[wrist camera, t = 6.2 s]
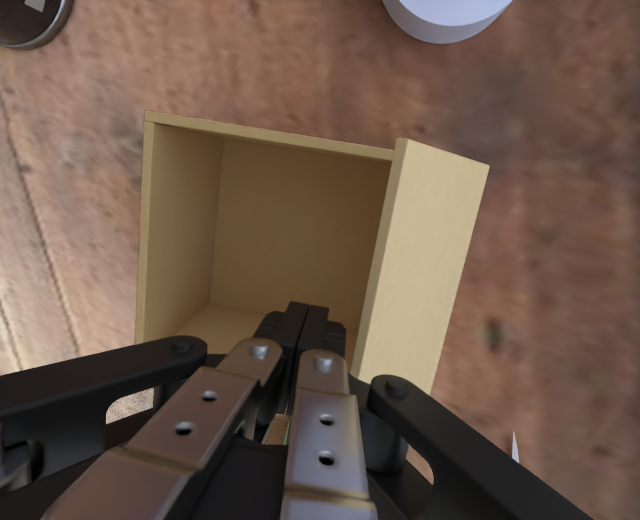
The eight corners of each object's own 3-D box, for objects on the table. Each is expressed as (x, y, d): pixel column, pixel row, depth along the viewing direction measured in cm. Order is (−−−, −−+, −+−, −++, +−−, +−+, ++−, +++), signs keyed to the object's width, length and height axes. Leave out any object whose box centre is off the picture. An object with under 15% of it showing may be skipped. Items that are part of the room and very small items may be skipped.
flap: (480, 164, 17) (490, 165, 17) (412, 432, 20) (419, 436, 20) (396, 137, 11) (408, 138, 11) (318, 525, 14) (327, 533, 14)
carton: (436, 165, 28) (482, 164, 17) (396, 341, 31) (414, 426, 21) (220, 130, 28) (144, 109, 18) (205, 305, 32) (133, 369, 22)
